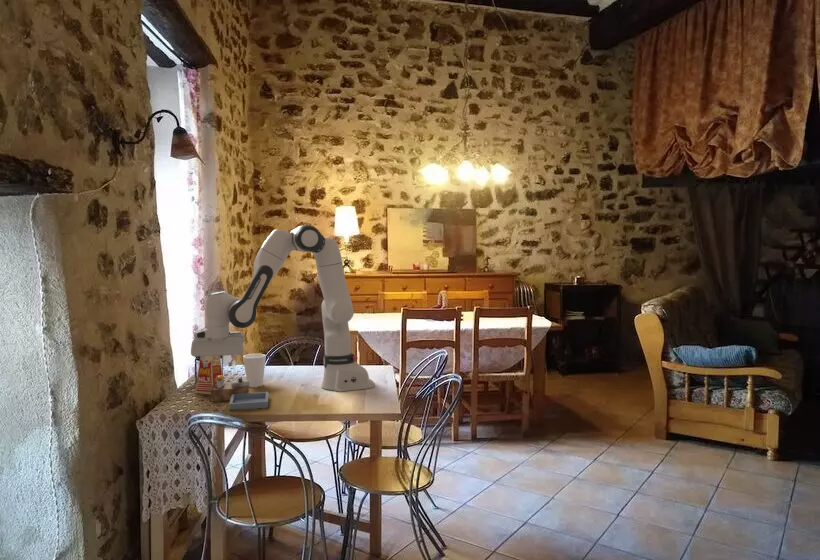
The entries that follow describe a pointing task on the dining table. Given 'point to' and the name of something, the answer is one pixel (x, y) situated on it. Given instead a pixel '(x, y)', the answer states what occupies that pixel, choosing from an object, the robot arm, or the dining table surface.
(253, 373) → the foam cup
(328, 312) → the robot arm
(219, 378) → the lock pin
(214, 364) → the milk carton
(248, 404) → the dish
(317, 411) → the dining table surface
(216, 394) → the tensioner block
